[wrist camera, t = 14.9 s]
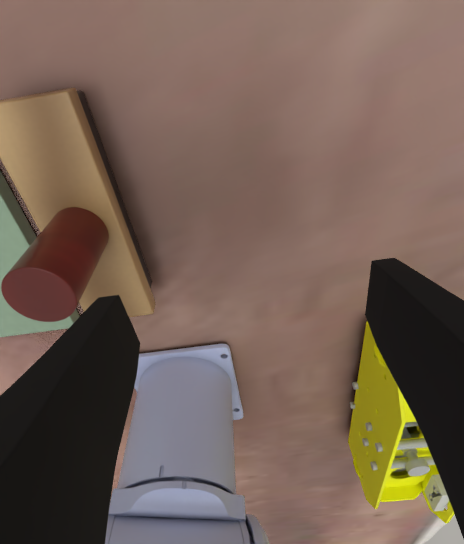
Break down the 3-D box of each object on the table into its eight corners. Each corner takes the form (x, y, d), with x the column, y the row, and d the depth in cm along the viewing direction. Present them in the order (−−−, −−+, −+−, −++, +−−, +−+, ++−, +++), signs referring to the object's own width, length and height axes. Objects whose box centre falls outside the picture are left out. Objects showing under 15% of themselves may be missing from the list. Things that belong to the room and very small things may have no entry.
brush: (89, 80, 15) (3, 120, 9) (160, 284, 22) (138, 386, 16) (7, 95, 15) (-131, 143, 9) (102, 292, 22) (59, 396, 16)
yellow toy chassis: (401, 427, 33) (448, 531, 27) (342, 433, 34) (374, 537, 27) (440, 304, 24) (529, 415, 17) (358, 313, 24) (413, 427, 17)
